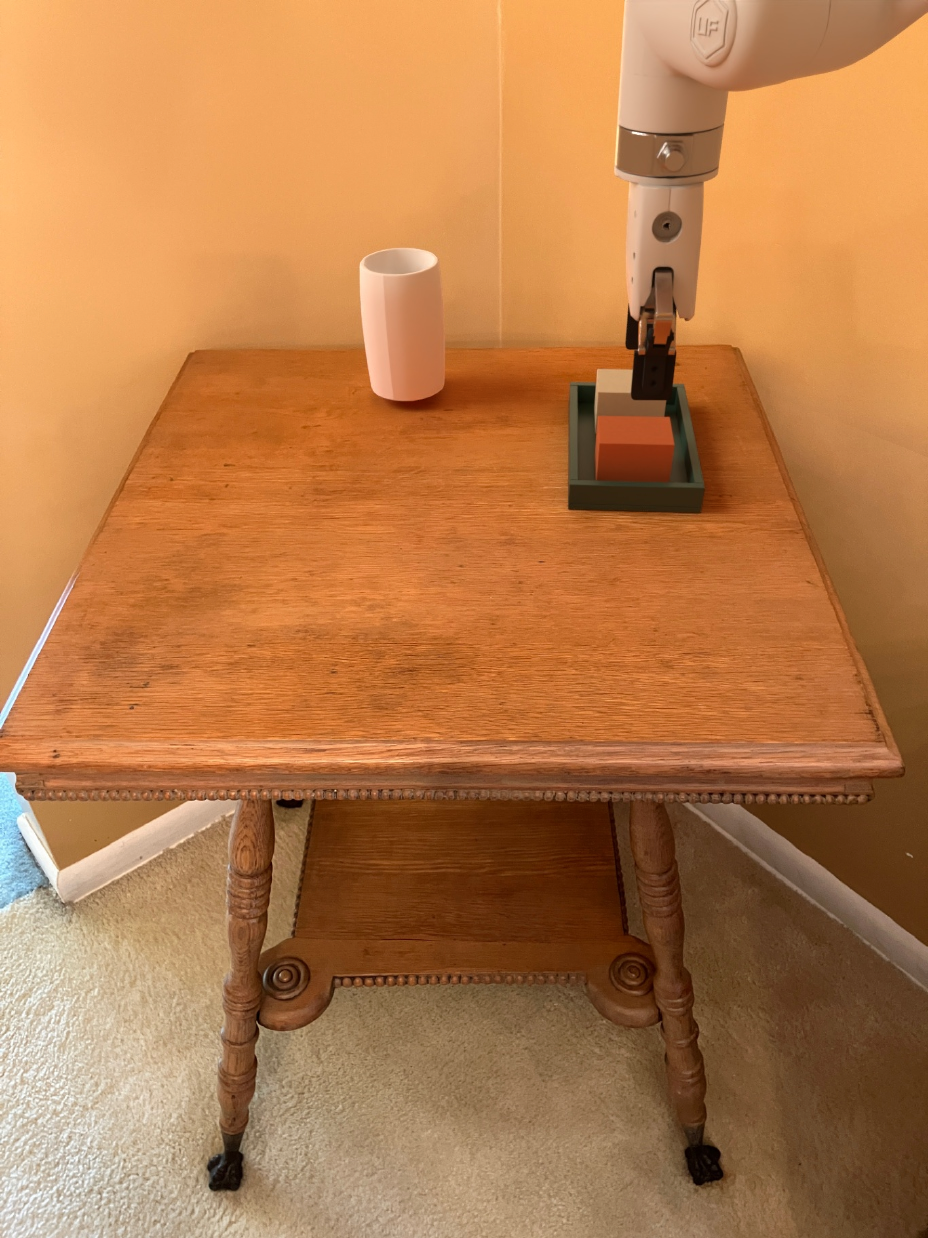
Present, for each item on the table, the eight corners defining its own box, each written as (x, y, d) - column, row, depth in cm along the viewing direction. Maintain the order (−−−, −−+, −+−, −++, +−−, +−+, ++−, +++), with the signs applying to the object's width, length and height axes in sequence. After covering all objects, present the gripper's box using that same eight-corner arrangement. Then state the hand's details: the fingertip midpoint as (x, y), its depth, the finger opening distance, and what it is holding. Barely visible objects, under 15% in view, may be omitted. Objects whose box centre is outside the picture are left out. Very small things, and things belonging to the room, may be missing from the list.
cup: (459, 382, 100) (454, 250, 91) (431, 418, 94) (423, 280, 85) (387, 372, 103) (376, 242, 93) (356, 406, 97) (341, 271, 88)
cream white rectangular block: (661, 435, 89) (667, 393, 86) (594, 433, 90) (597, 391, 87) (658, 410, 93) (663, 369, 90) (594, 409, 94) (597, 368, 91)
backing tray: (700, 513, 80) (705, 487, 78) (567, 509, 81) (569, 484, 79) (681, 406, 95) (684, 383, 93) (568, 404, 96) (569, 381, 94)
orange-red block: (668, 488, 82) (674, 444, 79) (595, 486, 83) (599, 442, 80) (664, 459, 86) (670, 416, 83) (594, 458, 86) (597, 415, 84)
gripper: (737, 182, 59) (703, 421, 70) (706, 122, 73) (682, 331, 84) (620, 184, 60) (604, 420, 71) (611, 124, 73) (599, 331, 84)
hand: (646, 372), depth 77 cm, fingers open, 9 cm apart
